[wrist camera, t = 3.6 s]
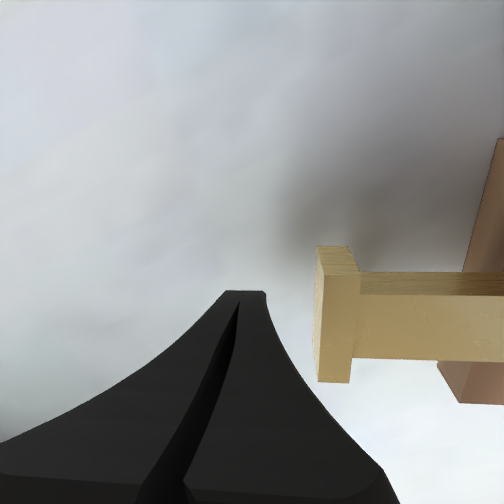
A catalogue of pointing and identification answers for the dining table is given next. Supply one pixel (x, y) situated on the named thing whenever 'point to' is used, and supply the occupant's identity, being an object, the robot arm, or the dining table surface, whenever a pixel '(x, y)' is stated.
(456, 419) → the dining table surface
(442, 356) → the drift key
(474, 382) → the socket block
